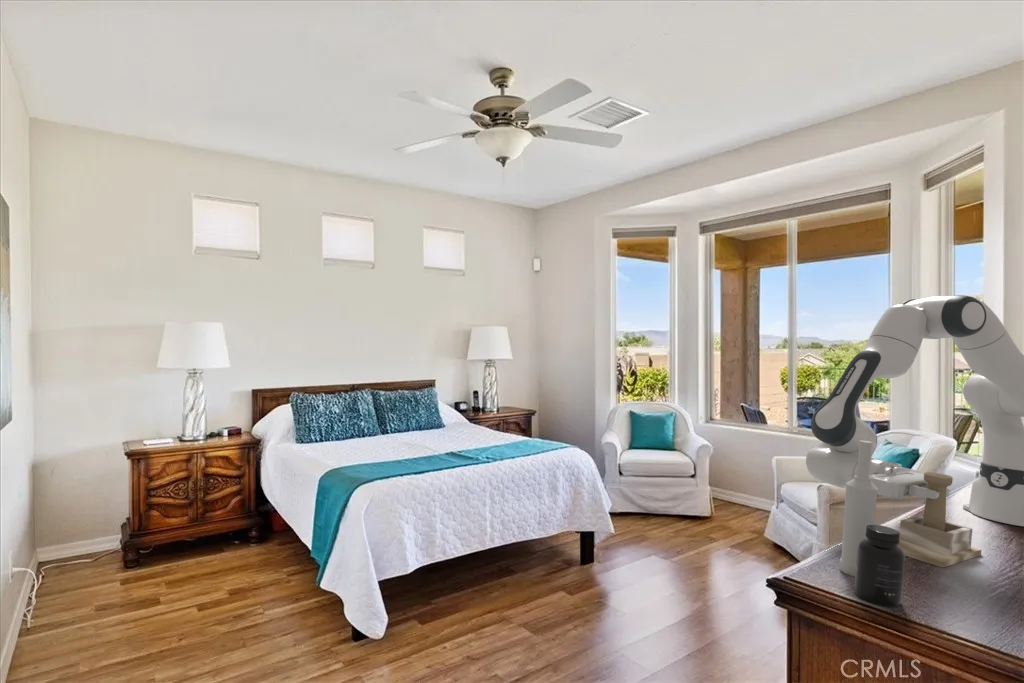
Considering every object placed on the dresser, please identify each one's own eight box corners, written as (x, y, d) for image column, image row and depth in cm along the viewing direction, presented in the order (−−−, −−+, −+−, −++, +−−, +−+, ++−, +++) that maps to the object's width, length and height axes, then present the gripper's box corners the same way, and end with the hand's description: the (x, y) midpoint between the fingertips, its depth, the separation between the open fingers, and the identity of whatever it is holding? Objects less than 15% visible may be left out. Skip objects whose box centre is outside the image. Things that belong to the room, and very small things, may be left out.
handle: (948, 543, 126) (954, 476, 126) (942, 549, 122) (948, 479, 122) (922, 537, 130) (928, 471, 129) (915, 542, 125) (921, 474, 125)
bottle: (847, 576, 106) (859, 443, 106) (833, 565, 112) (844, 437, 111) (876, 579, 106) (887, 445, 106) (860, 568, 111) (871, 440, 111)
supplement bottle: (845, 587, 102) (851, 520, 101) (885, 591, 101) (891, 523, 101) (867, 606, 95) (873, 534, 94) (910, 610, 94) (916, 537, 94)
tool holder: (918, 536, 134) (920, 512, 134) (981, 555, 124) (983, 529, 124) (878, 546, 125) (880, 521, 125) (942, 567, 115) (944, 540, 115)
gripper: (852, 467, 131) (921, 483, 119) (898, 462, 141) (964, 476, 130) (850, 494, 131) (918, 513, 119) (895, 487, 142) (962, 504, 130)
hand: (942, 494), depth 125 cm, fingers closed on handle, 3 cm apart
